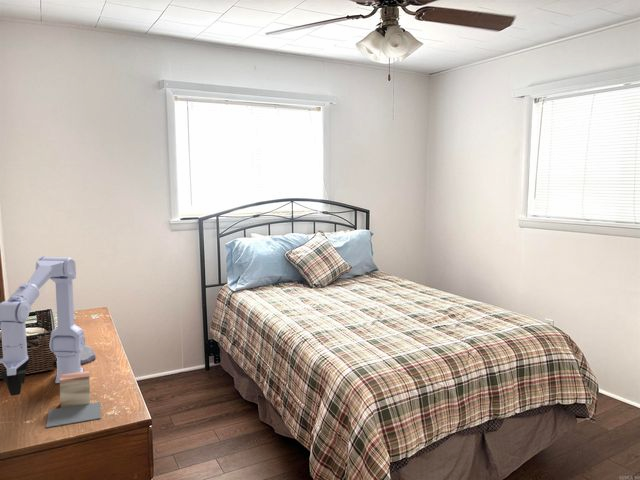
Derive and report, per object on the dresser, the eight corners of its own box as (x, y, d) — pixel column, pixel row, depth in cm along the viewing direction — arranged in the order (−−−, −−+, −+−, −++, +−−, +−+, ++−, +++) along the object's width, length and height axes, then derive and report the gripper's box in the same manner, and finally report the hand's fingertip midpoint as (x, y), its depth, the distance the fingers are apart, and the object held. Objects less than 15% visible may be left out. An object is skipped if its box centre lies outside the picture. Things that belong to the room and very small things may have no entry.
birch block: (62, 402, 148) (60, 374, 146) (90, 397, 151) (89, 370, 150) (61, 408, 144) (59, 380, 143) (90, 403, 148) (88, 376, 146)
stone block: (98, 363, 181) (86, 351, 186) (99, 352, 179) (86, 341, 185) (66, 374, 172) (54, 361, 177) (66, 363, 170) (54, 350, 176)
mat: (49, 410, 143) (49, 409, 143) (100, 402, 148) (100, 401, 148) (45, 428, 134) (45, 427, 134) (100, 418, 139) (100, 417, 139)
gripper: (2, 335, 137) (5, 380, 139) (-9, 355, 124) (-5, 403, 126) (30, 333, 140) (33, 376, 142) (23, 351, 127) (26, 398, 129)
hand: (17, 388), depth 134 cm, fingers open, 6 cm apart
